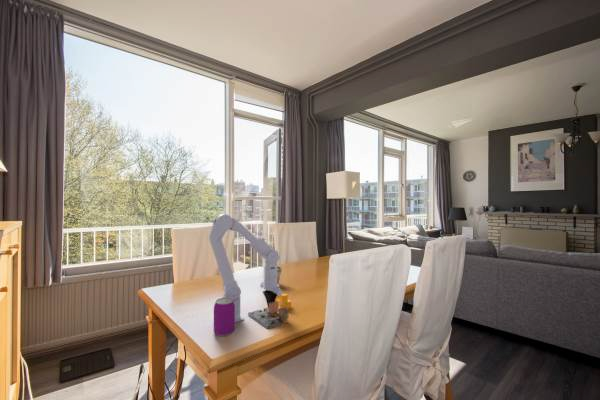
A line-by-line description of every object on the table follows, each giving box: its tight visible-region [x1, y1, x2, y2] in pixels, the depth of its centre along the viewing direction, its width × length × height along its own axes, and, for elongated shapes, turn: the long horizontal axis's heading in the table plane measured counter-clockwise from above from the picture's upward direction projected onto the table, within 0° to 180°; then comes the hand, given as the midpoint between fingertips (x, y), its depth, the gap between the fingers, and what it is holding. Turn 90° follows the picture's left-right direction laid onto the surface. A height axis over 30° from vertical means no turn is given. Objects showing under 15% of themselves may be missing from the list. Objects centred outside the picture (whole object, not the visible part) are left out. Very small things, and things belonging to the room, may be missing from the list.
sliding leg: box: [258, 301, 279, 315], centre depth 122 cm, size 9×2×4 cm, turn 128°
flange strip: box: [247, 309, 282, 330], centre depth 120 cm, size 6×16×2 cm, turn 38°
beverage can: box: [213, 297, 236, 337], centre depth 109 cm, size 8×8×12 cm
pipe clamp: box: [275, 293, 292, 309], centre depth 137 cm, size 12×4×6 cm, turn 23°
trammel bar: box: [263, 306, 290, 324], centre depth 121 cm, size 9×15×6 cm, turn 38°
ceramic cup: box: [277, 266, 282, 285], centre depth 169 cm, size 13×10×10 cm
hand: (270, 307), depth 126 cm, fingers closed
